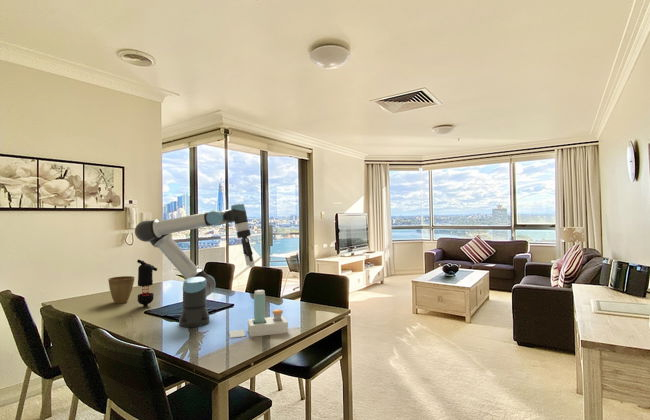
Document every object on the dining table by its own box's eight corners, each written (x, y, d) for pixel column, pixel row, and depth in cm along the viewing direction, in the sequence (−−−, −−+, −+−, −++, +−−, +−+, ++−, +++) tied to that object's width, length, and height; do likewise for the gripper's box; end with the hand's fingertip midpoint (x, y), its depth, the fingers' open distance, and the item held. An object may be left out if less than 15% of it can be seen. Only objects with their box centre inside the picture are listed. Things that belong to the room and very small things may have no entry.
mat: (230, 338, 154) (230, 337, 154) (229, 331, 163) (229, 331, 163) (245, 336, 157) (245, 335, 157) (244, 330, 165) (244, 329, 165)
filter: (142, 309, 201) (142, 260, 202) (132, 307, 205) (133, 259, 206) (161, 304, 214) (162, 257, 214) (152, 302, 218) (152, 256, 218)
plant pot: (125, 305, 211) (125, 280, 212) (102, 305, 212) (102, 279, 212) (139, 299, 226) (139, 275, 227) (117, 299, 226) (117, 275, 227)
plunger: (273, 321, 163) (273, 312, 163) (271, 318, 168) (271, 309, 168) (283, 320, 165) (283, 311, 165) (281, 317, 169) (281, 309, 169)
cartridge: (254, 334, 160) (254, 292, 160) (253, 330, 165) (253, 290, 165) (265, 333, 162) (265, 291, 162) (263, 329, 167) (264, 289, 167)
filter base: (250, 336, 156) (250, 326, 157) (247, 329, 167) (247, 319, 167) (287, 332, 162) (287, 322, 162) (283, 325, 173) (283, 315, 173)
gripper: (252, 228, 182) (260, 266, 181) (246, 229, 205) (253, 263, 205) (238, 231, 179) (246, 269, 179) (234, 232, 202) (241, 266, 202)
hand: (250, 266), depth 192 cm, fingers open, 13 cm apart
